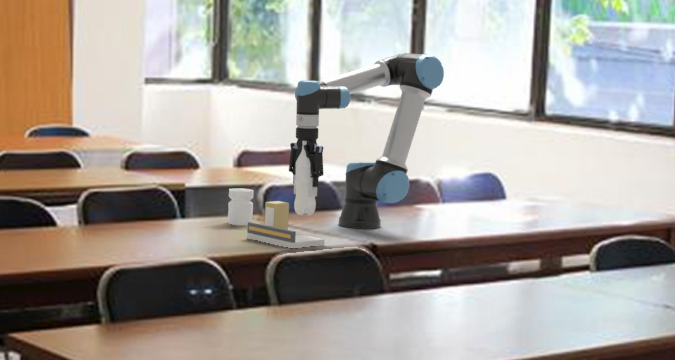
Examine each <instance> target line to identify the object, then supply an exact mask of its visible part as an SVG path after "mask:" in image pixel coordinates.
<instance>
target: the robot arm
mask: <svg viewBox="0 0 675 360" xmlns="http://www.w3.org/2000/svg"><path fill="white" fill-rule="evenodd" d="M444 74H445V71H444V67H443V65H442V62H441V60H439V59H438V58H437V57H436V56H434V55H431V54H427V53H421V54H420V53H410V52H409V53H407V52H405V53H399V54H395V55H392V56H390V57H385V58H384V59H383V58H382V59H379V60H377V61H375V62H374V63H373V65H369V66H365V67H363V68H362V67H361V68H359V69H356V70H353V71H350V72H346V73H342V74H339V75H337V76H331V77H328V78H325V79H322V80H307V79H306V80H305V79H304V80H303V79H302V80H299V81H298V82H297V87H296V89H295V91H294V98H295V100H296V115H295V116H296V120H295V121H296V122H295V123H296V124H295V125H296V126H297V127H296V128H295V138H296V139H297V140H296V142H291V143H290V145H289V146H290V155H289V156H290V157H289V165H288V172H291V173H292V175H293V177H292V178H293V179H292V182H293V194H294V195H296V185H295V177H296V166H295V165H296V161H297V159H298V157H299V155H300V154H301V151H302V141H307V144H306V145H304V150H305V152H306V156H307V158H309V161H310V166H311V167H310V169H311V174H312V176H310V197H318V187H319V178H320V177H322V176H324V158H323V156H324V155H323V154H324V146H323V145H321V146H320V145H319V144H318V143H317V140H318V139H319V128H318V127H319V125H320V124H319V123H320V120H319V119H320V110H326V109H327V110H329V109H331V110H332V109H333V110H334V109H335V110H339V109H346V108H347V107H348V106H349V105H350V102H351V95H352V94H355V93H359V92H362V91H365V90H368V89H372V88H376V87H378V86H380V87H382V88H384V87H385V88H386V87H388V86H399V89H400V91H401V95H400V98H399V101H398V105H397V107H396V111H395V113H394V116H393V117H394V118H393V120H392V123H391V126H390V130H389V133H388V137H387V139H386V142H385V146H384V149H383V152H382V155H381V156H380V157H378V158H376V160H375V161H366V162H364V161H363V162H349V163H348V164H347V165H346V170H345V186H344V187H345V188H344V189H345V190H344V204H343V207H342V210H341V213H340V216H339V217H338V225H339V226H341V227H346V228H351V229H376V228H377V229H378V228H381V226H382V225H381V222H382V221H381V218H380V215H379V210H378V201H379V202H382V203H384V204H388V203H389V204H396V203H398V202H400V201H402V200H403V199H404V198H405V197H406V195H407V194H408V192H409V189H410V180H409V176H408V175H407V173H408V170H409V169H408V166H407V165H406V162H407V159H408V156H409V153H410V149H411V147H412V142H413V141H414V140H413V139H414V136H415V133H416V130H417V127H418V124H419V122H420V117H421V114H422V111H423V107H424V104H425V103H426V100H427V99H428V98H431V96H432V94H433V90H435V89H437V88H438V87H439V86H441V84H443V83H442V82H443V80H444V76H445V75H444ZM312 154H313V155H312Z"/></svg>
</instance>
